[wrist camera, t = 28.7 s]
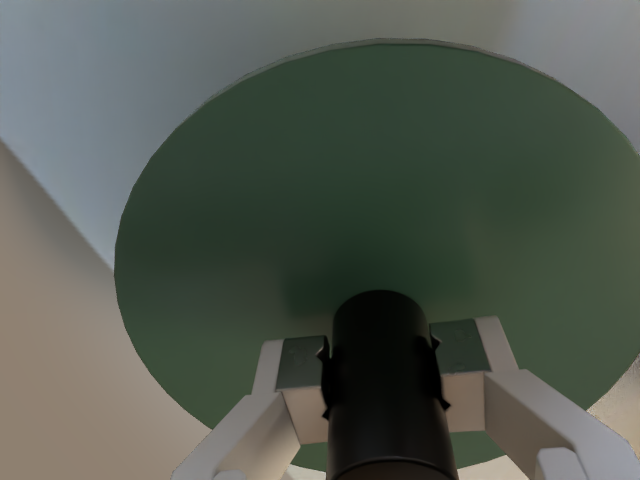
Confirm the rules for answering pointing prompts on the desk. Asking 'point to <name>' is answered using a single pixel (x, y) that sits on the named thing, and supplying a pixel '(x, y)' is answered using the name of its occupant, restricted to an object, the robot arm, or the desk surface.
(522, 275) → the pot lid
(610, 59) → the desk surface
